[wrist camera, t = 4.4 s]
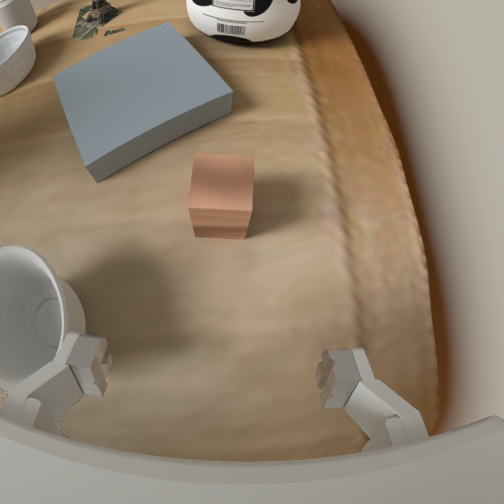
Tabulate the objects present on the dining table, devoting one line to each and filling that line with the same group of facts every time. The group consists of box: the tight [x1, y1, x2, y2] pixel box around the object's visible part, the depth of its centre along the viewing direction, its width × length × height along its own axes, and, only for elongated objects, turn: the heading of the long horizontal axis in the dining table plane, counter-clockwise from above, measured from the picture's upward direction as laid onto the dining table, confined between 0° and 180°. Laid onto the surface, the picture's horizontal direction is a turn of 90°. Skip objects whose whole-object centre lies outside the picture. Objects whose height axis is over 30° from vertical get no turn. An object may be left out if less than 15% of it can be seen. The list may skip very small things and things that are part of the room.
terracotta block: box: [188, 153, 254, 240], centre depth 29 cm, size 5×5×8 cm
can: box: [0, 0, 38, 32], centre depth 33 cm, size 8×8×12 cm
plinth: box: [53, 22, 233, 183], centre depth 34 cm, size 18×18×4 cm
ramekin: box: [0, 25, 36, 96], centre depth 32 cm, size 13×13×7 cm
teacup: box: [0, 245, 86, 391], centre depth 23 cm, size 12×15×10 cm
